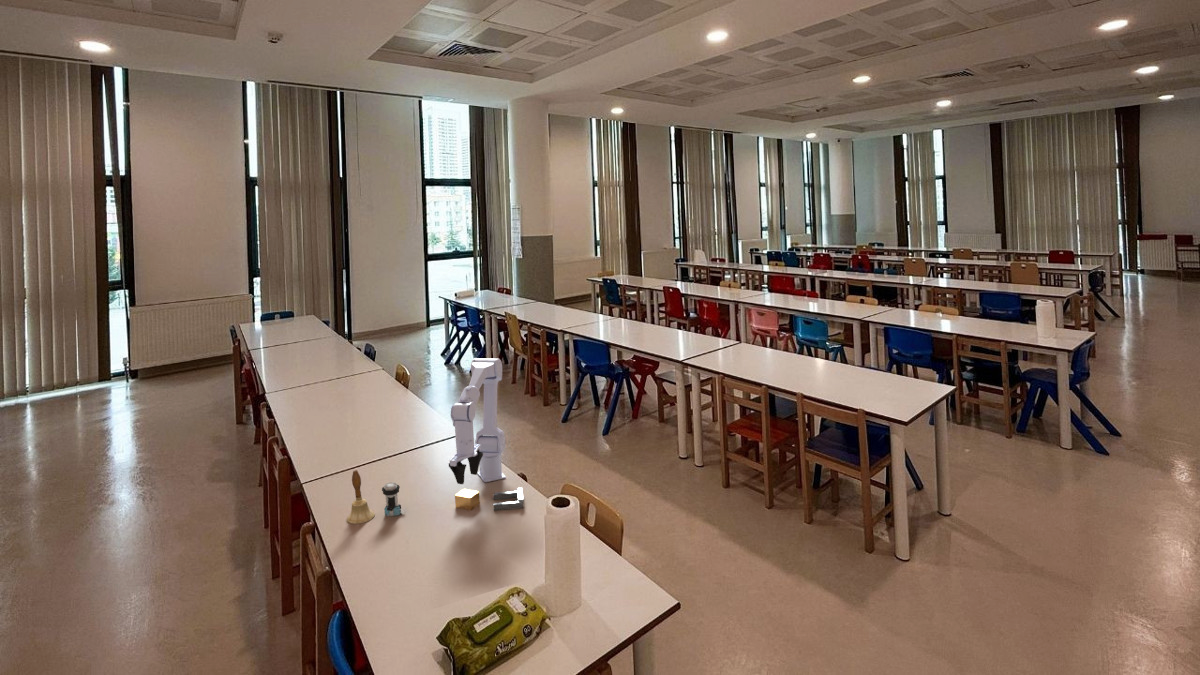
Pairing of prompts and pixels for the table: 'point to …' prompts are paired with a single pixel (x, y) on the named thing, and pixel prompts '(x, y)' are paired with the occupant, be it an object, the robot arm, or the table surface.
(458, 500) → the block
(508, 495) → the guide channel
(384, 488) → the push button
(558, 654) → the table surface
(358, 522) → the hand bell
